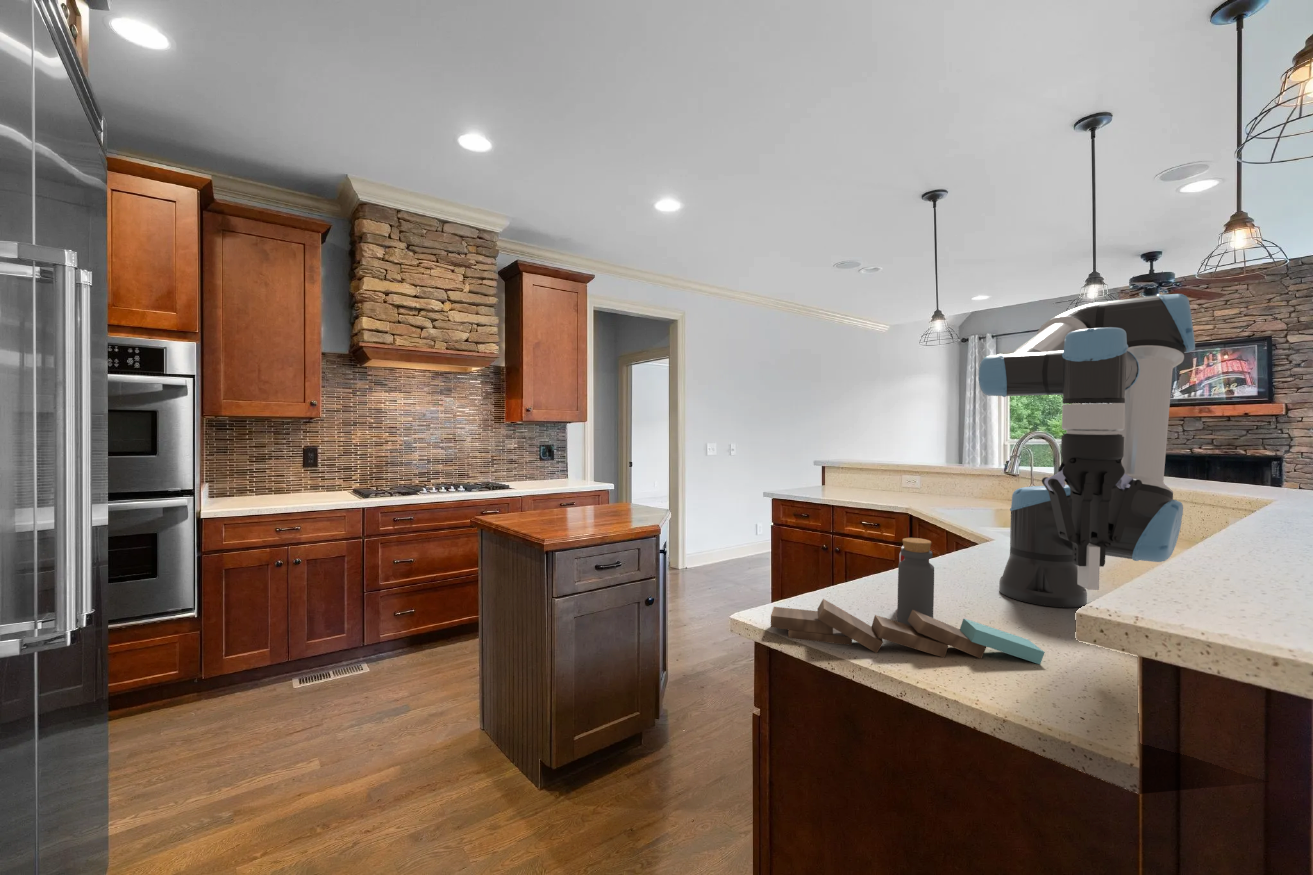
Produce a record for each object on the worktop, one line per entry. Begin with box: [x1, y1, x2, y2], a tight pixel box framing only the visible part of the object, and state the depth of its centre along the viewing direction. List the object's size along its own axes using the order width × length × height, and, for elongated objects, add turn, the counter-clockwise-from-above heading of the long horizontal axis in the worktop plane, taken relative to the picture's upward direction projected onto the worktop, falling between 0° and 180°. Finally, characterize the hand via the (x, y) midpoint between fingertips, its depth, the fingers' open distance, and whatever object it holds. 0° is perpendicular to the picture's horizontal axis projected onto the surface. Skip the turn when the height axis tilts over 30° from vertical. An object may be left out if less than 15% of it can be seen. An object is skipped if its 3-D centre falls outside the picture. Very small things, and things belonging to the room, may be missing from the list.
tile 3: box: [871, 614, 949, 658], centre depth 91 cm, size 2×5×10 cm
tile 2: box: [908, 610, 987, 659], centre depth 90 cm, size 2×5×10 cm
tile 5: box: [770, 606, 833, 635], centre depth 97 cm, size 2×5×10 cm
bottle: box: [896, 537, 935, 626], centre depth 102 cm, size 6×6×15 cm
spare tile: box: [959, 618, 1046, 665], centre depth 89 cm, size 2×5×10 cm
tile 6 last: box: [787, 628, 853, 646], centre depth 96 cm, size 2×5×10 cm
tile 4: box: [817, 598, 884, 654], centre depth 92 cm, size 2×5×10 cm
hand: (1087, 586), depth 87 cm, fingers closed
